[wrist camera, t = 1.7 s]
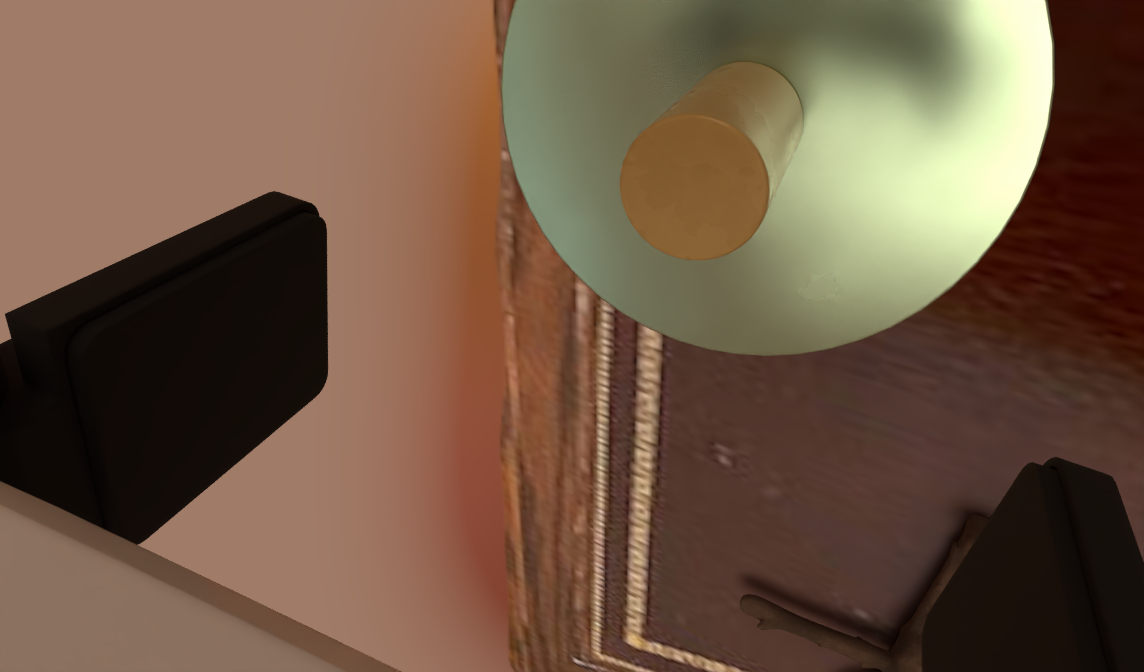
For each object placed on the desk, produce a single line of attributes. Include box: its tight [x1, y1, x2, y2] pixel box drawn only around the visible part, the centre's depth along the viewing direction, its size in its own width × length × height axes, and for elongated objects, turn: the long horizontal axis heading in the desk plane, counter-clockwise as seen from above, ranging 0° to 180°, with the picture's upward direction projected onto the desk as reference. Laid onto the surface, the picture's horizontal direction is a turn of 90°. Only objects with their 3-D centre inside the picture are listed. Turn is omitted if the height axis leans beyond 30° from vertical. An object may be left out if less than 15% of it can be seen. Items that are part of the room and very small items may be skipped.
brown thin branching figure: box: [740, 514, 989, 672], centre depth 37 cm, size 18×4×14 cm
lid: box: [501, 0, 1055, 356], centre depth 18 cm, size 14×14×7 cm
